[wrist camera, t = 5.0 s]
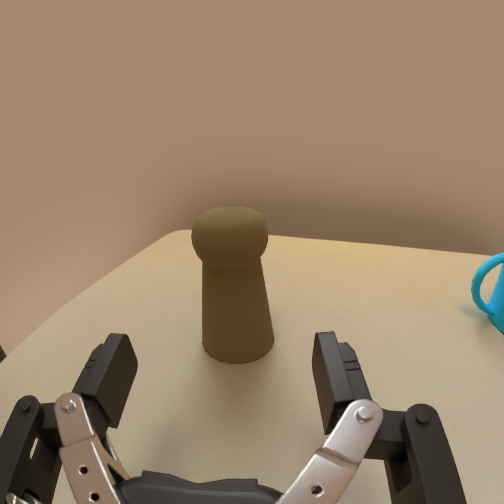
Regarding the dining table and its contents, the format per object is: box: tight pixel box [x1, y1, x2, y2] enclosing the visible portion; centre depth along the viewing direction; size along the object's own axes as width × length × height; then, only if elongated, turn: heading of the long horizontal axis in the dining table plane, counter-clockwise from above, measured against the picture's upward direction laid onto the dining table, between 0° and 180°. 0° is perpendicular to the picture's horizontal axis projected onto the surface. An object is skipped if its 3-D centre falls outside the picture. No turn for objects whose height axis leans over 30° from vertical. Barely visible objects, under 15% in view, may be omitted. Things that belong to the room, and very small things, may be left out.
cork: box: [191, 206, 274, 364], centre depth 22 cm, size 6×6×11 cm
